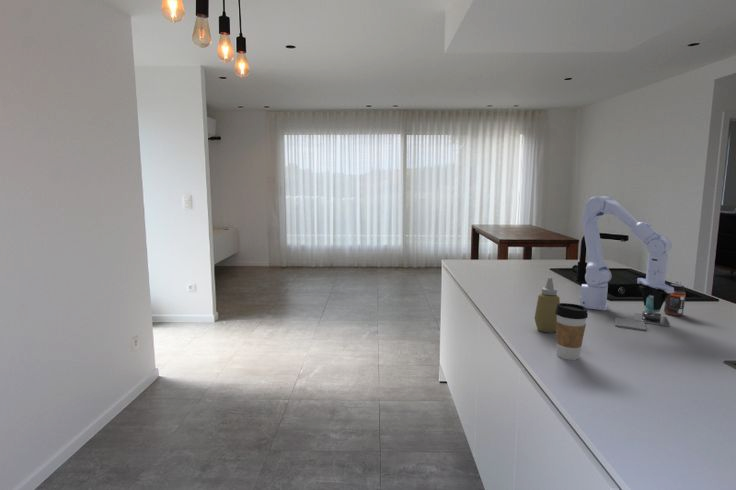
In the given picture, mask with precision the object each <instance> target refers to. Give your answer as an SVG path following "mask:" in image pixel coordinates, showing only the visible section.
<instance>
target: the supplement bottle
mask: <svg viewBox="0 0 736 490" xmlns="http://www.w3.org/2000/svg"><path fill="white" fill-rule="evenodd" d="M670 286H671V287H673V288H674V293H670V295H669V296H668V297H667V298H666V299H665V301H664V308H663V312H664V313H665V314H667V315H669V316H677V317H678V316H679V317H680V316H682V315H684V308H685V303H686V294H687V293H686V291H685V290H684V287H685V285H683V284H679V283H671V284H670Z"/></svg>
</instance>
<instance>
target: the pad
mask: <svg viewBox="0 0 736 490" xmlns="http://www.w3.org/2000/svg"><path fill="white" fill-rule="evenodd" d="M614 324H615V327H616V328H621V329H622V328H624V329H628V330H630V329H631V330H635V329H636V331H641V332H642V331H644V332H647V327H646V323H644V322H643V321H636V320H633V319H629V318H619V317H615V318H614Z"/></svg>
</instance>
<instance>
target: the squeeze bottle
mask: <svg viewBox="0 0 736 490" xmlns="http://www.w3.org/2000/svg"><path fill="white" fill-rule="evenodd" d="M557 293H558V289H557V288H556V287H554V282H553V277H548V278H547V280H546V284H545V286H544V287H541V293H539V294H538V296H537V301H536V308H535V313H534V322H535V325H536V329H537V330H538V331H539V332H542V333H543V332H544V333H556V319H557V314H556V313H555V312H556V311H555V310H556V308H557V304H558V303H561V302H560V296H559V295H557Z"/></svg>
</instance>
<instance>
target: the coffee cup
mask: <svg viewBox="0 0 736 490" xmlns="http://www.w3.org/2000/svg"><path fill="white" fill-rule="evenodd" d="M555 311H556V312H555V313H556V314H557V319H556V331H555V334H556V355H557V356H558V357H559V358H561V359H565V360H571V361H576V359H577V360H579V358H580V356H581V350H582V345H583V340H584V335H585V330H586V325H587V324H586V319H588V318H589V314H588V308H586V307H584V306H581V305H580V304H575V303H568V302H567V303H566V302H565V303H564V302H560V303H558V304H557V308H556V310H555Z"/></svg>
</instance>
